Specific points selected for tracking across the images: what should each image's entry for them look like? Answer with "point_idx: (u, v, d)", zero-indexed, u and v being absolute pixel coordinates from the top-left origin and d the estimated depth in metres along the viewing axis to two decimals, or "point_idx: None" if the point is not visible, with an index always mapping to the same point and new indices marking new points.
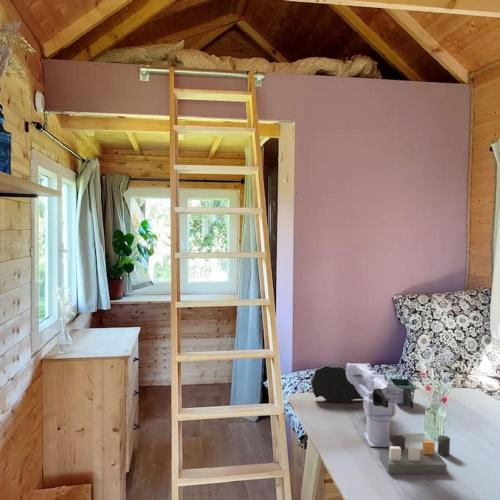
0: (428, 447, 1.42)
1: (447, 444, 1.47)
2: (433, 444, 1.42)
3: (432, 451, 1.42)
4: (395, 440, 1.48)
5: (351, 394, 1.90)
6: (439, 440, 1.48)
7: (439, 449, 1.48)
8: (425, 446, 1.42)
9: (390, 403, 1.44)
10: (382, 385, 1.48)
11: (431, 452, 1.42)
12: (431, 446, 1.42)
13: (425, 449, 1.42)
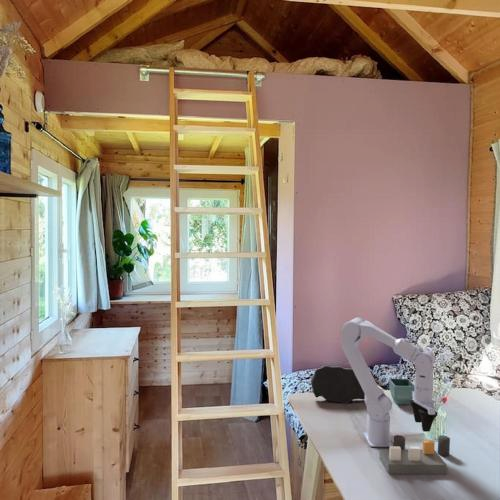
0: (428, 447, 1.42)
1: (447, 444, 1.47)
2: (433, 444, 1.42)
3: (432, 451, 1.42)
4: (395, 440, 1.48)
5: (351, 394, 1.90)
6: (439, 440, 1.48)
7: (439, 449, 1.48)
8: (425, 446, 1.42)
9: None
10: (432, 394, 1.46)
11: (431, 452, 1.42)
12: (431, 446, 1.42)
13: (425, 449, 1.42)
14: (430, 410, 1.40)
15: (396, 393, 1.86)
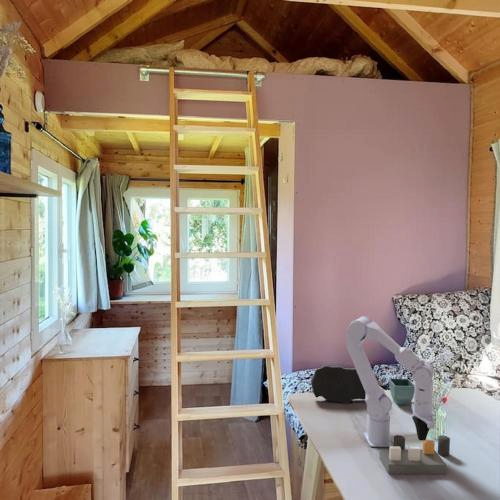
0: (428, 447, 1.42)
1: (447, 444, 1.47)
2: (433, 444, 1.42)
3: (432, 451, 1.42)
4: (395, 440, 1.48)
5: (351, 394, 1.90)
6: (439, 440, 1.48)
7: (439, 449, 1.48)
8: (425, 446, 1.42)
9: None
10: (431, 408, 1.46)
11: (431, 452, 1.42)
12: (431, 446, 1.42)
13: (425, 449, 1.42)
14: (429, 424, 1.40)
15: (396, 393, 1.86)
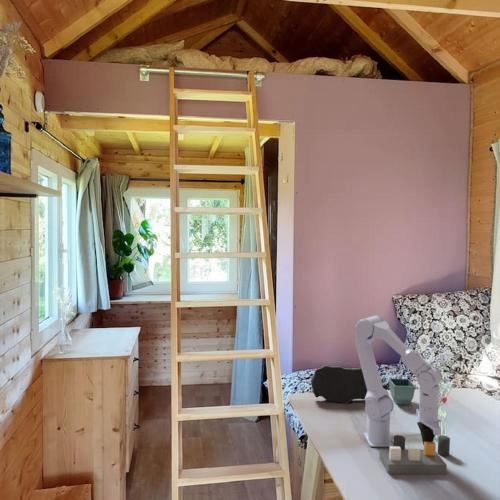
0: (429, 449, 1.41)
1: (447, 444, 1.47)
2: (434, 445, 1.41)
3: (433, 452, 1.41)
4: (395, 440, 1.48)
5: (351, 394, 1.90)
6: (439, 440, 1.48)
7: (439, 449, 1.48)
8: (426, 448, 1.41)
9: None
10: (437, 413, 1.41)
11: (432, 453, 1.41)
12: (432, 447, 1.41)
13: (426, 450, 1.41)
14: (436, 430, 1.36)
15: (396, 393, 1.86)
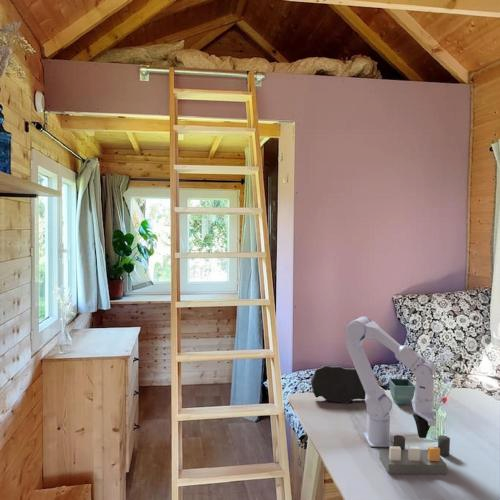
0: (434, 454, 1.38)
1: (447, 444, 1.47)
2: (438, 451, 1.38)
3: (437, 458, 1.38)
4: (395, 440, 1.48)
5: (351, 394, 1.90)
6: (439, 440, 1.48)
7: None
8: (430, 453, 1.38)
9: None
10: (432, 405, 1.45)
11: (436, 459, 1.38)
12: (436, 453, 1.38)
13: (430, 456, 1.38)
14: (430, 421, 1.40)
15: (396, 393, 1.86)
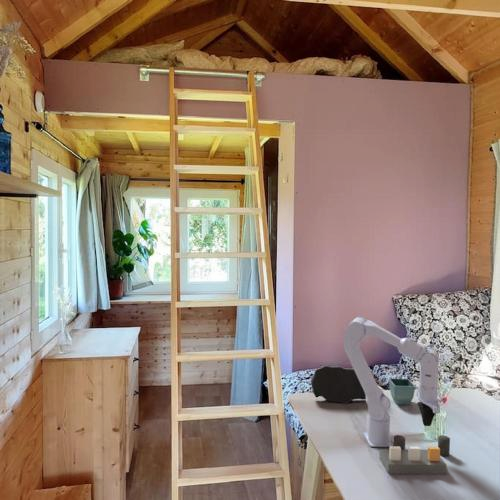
0: (434, 454, 1.38)
1: (447, 444, 1.47)
2: (438, 451, 1.38)
3: (437, 458, 1.38)
4: (395, 440, 1.48)
5: (351, 394, 1.90)
6: (439, 440, 1.48)
7: None
8: (430, 453, 1.38)
9: None
10: None
11: (436, 459, 1.38)
12: (436, 453, 1.38)
13: (430, 456, 1.38)
14: (435, 409, 1.41)
15: (396, 393, 1.86)
